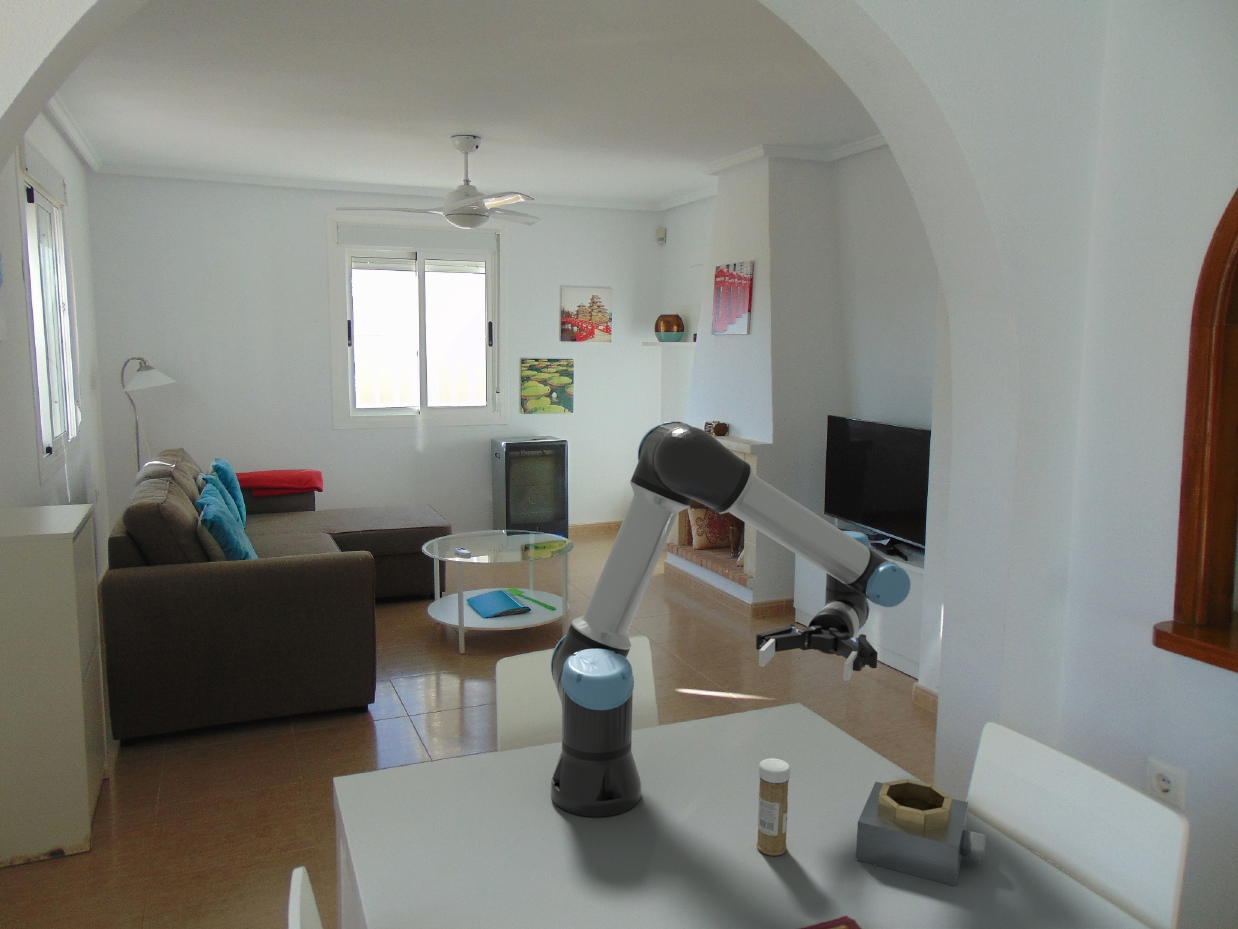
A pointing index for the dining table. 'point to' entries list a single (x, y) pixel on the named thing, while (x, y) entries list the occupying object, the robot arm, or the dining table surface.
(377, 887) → the dining table surface
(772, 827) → the sprinkles bottle
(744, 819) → the dining table surface
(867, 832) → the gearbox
